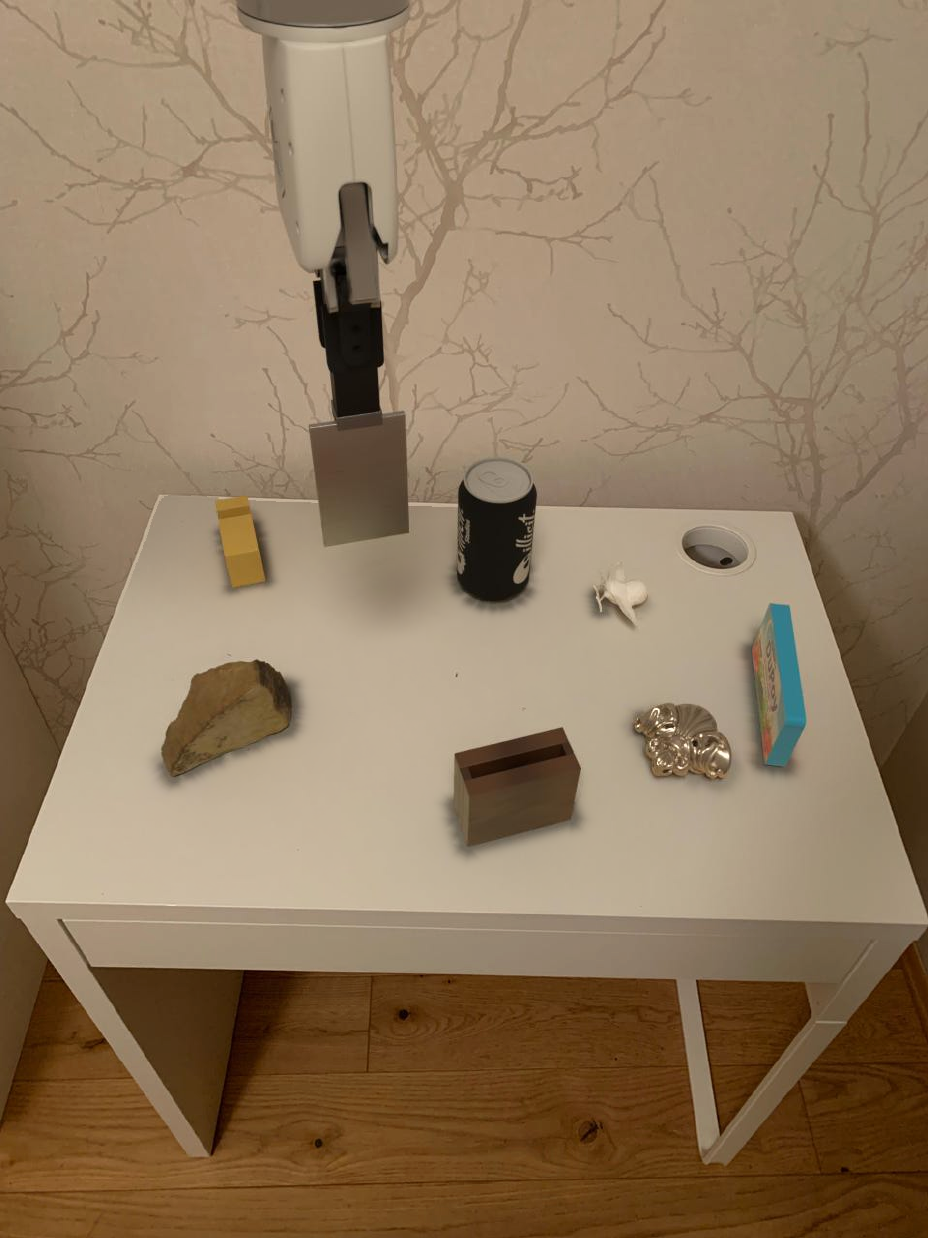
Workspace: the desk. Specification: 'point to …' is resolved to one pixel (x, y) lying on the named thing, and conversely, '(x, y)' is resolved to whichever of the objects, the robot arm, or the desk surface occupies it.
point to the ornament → (684, 741)
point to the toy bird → (622, 591)
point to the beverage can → (495, 528)
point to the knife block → (515, 786)
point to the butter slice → (232, 507)
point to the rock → (226, 713)
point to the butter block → (241, 550)
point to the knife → (360, 461)
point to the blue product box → (778, 686)
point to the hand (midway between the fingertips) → (351, 353)
